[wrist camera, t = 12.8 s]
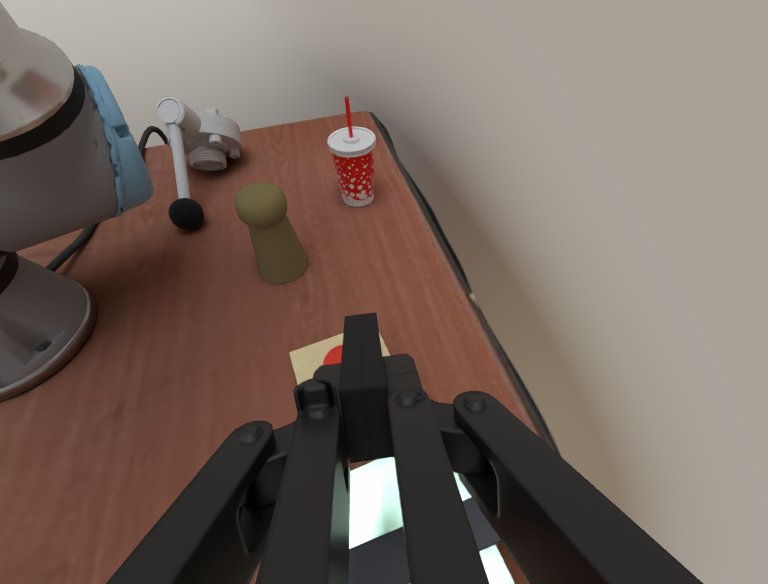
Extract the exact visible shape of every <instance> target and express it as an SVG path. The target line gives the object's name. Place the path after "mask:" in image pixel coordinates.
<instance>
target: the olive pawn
mask: <svg viewBox="0 0 768 584" xmlns="http://www.w3.org/2000/svg"><path fill="white" fill-rule="evenodd" d="M235 209H236V211H237V214H238V216H239V218H240V219H241V220H242V221H243V222H244V223H245V224H246V225H248V228H249V232H250V236H251V240H252V244H253V247H254V251H255V255H256V259H257V263H258V267H259V271H260V274H261V276H262V278H264V279H265V280H266V281H268V282H271V283H276V284H283V283H288V282H291V281H293V280H296V279H297V278H299V277H300V276H301V275H302V274H303V273H304V272H305V271H306V269H307V266H308V258H307V256H306V254H305V252H304V250H303V248H302V246H301V244H300V242H299V240H298V238H297V236H296V234H295V232H294V230H293V228H292V226H291V224H290V222H289V220H288V218H287V216H286V212H287V200H286V197H285V195H284V194H283V192H282V190H281V189H280V188H279V187H277V186H276V185H274V184H272V183H269V182H257V183H253V184H250V185H248V186H246V187H244V188H243V189H241V190H240V191H239V192H238V194H237V196H236V199H235Z"/></svg>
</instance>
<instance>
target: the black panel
mask: <svg viewBox="0 0 768 584" xmlns="http://www.w3.org/2000/svg"><path fill="white" fill-rule="evenodd" d="M463 504H464V507H465V510H466V513H467V516H468V519H469V522H470V525H471V528H472V531H473V534H474V537H475V540H476V544H477V547H478V550H479V552H480V551H482V550H484V549H487V548H489V547H491V546H493V545H495V544H498V543H500V542H502V541H501V540H500V538H499V537H498V535H497V534H496V532H495V531H494V529H493V528H492V526H491V525H490V523H489V522H488V520H487V519H486V517H485V516H484V515H483V513H482V512H481V510H480V509H479V507H478V506H477V504H476V503H475V501H474V500H473V498H472V497H471V498H468V499H466V500H464V501H463ZM349 584H410V577H409V569H408V561H407V554H406V546H405V538H404V530H403V526H402V527H400V528H397V529H395V530H393V531H390V532H388V533H386V534H383V535H381V536H379V537H376V538H374V539H371V540H369V541H367V542H364V543H362V544H360V545H357V546H355V547H353V548H350V549H349Z"/></svg>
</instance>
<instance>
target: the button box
mask: <svg viewBox="0 0 768 584" xmlns="http://www.w3.org/2000/svg"><path fill="white" fill-rule="evenodd" d="M343 334H344V333H342V334H339V335H336V336H334V337H331V338H328V339H325V340H322V341H320V342H317V343H314V344H311V345H308V346H306V347H303V348H300V349H297V350H294V351H292V352H289V354H290V358H291V362H292V365H293V369H294V373H295V376H296V380H297V384H298V385H299V384H300V383H302V382H304V381H306V380H308V379H312V378H313V374H314V372H315V371H316V370H317V369H318V368H319V366H321V365H323V362H324V358H325V356H326V355H327V353H328V352H329V351H330V350H331V349H332V348H334V347H336V346H339V345H343ZM379 336H380V343H381V350H382V357H384V356H391V355H390V353H389V351H388V349H387V347H386V345H385V343H384V340H383V338H382V336H381V334H380V332H379Z"/></svg>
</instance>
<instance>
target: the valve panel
mask: <svg viewBox="0 0 768 584" xmlns="http://www.w3.org/2000/svg"><path fill="white" fill-rule="evenodd" d="M453 473H454V476H455V479H456V482H457V485H458V488H459V492H460V495H461V498H462V501H464V500H466V499H468V498H471V495H470V494H469V493H468V491H467V490H466V488H465V487H464V485H463V484H462V482H461V481H460V479H459V477H458V474H457V473H455V472H453ZM350 475H351V477H350V532H349V549H350V548H353V547H355V546H357V545H360V544H362V543H364V542H367V541H369V540H371V539H374V538H376V537H379V536H381V535H383V534H386V533H388V532H390V531H393V530H395V529H397V528H400V527H402V526H403V523H402V515H401V507H400V500H399V492H398V486H397V477H396V469H395V461H394V457H390V458H382V459H375V460H373V461H371V462H369V463H366V464H364V465H362V466H360V467H357V468H355V469H353V470H350ZM479 553H480V556H481V559H482V562H483V565H484V568H485V571H486V574H487V577H488V580H489V583H490V584H516V583H515V581H514V579H513V577H512V575H511V573H510V571H509V569H508V567H507V565H506V563H505V561H504V559H503V557H502V555H501V553H500V551H499V549H498V547H497V545H496V544H495V545H493V546H491V547H489V548H487V549H484V550H482V551H480V552H479Z"/></svg>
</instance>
